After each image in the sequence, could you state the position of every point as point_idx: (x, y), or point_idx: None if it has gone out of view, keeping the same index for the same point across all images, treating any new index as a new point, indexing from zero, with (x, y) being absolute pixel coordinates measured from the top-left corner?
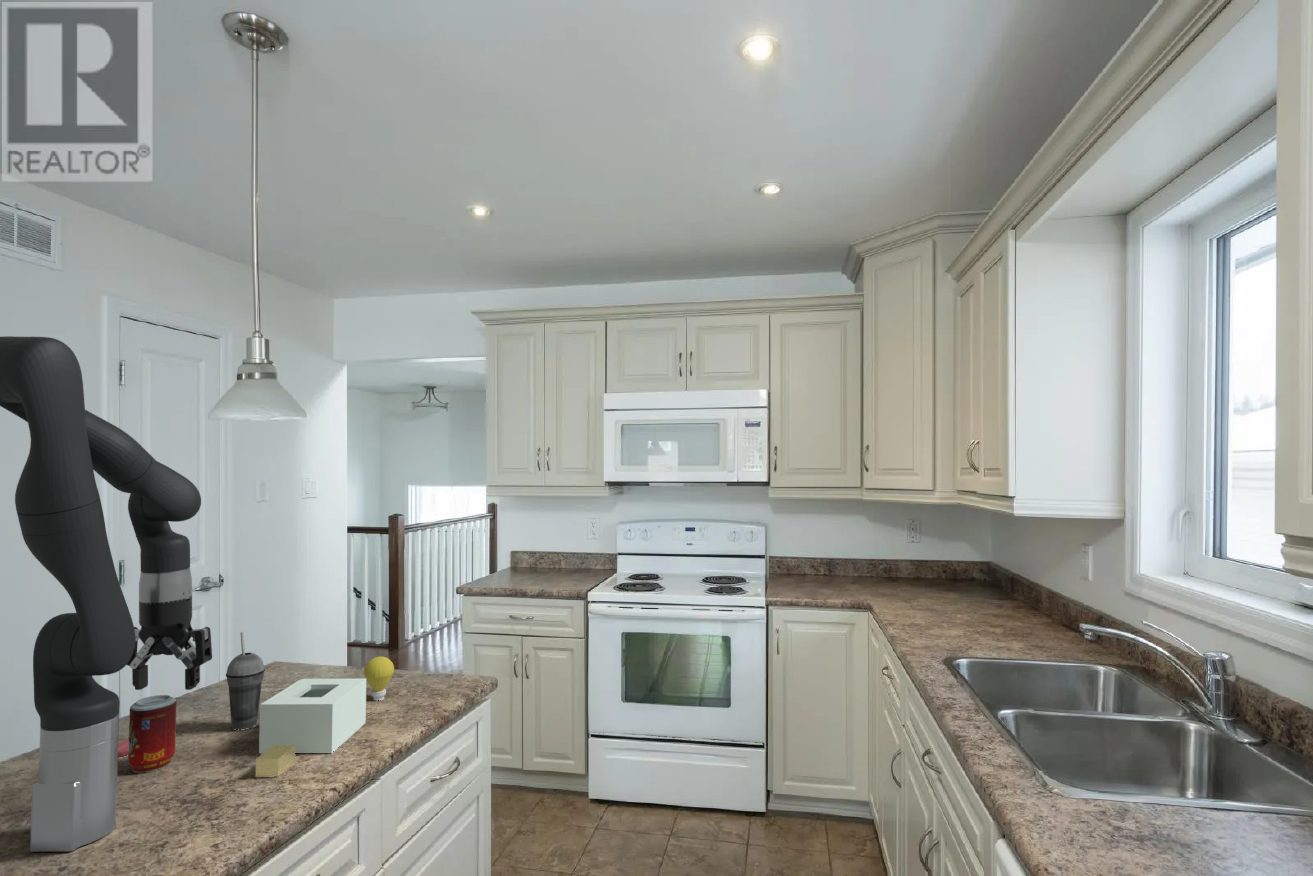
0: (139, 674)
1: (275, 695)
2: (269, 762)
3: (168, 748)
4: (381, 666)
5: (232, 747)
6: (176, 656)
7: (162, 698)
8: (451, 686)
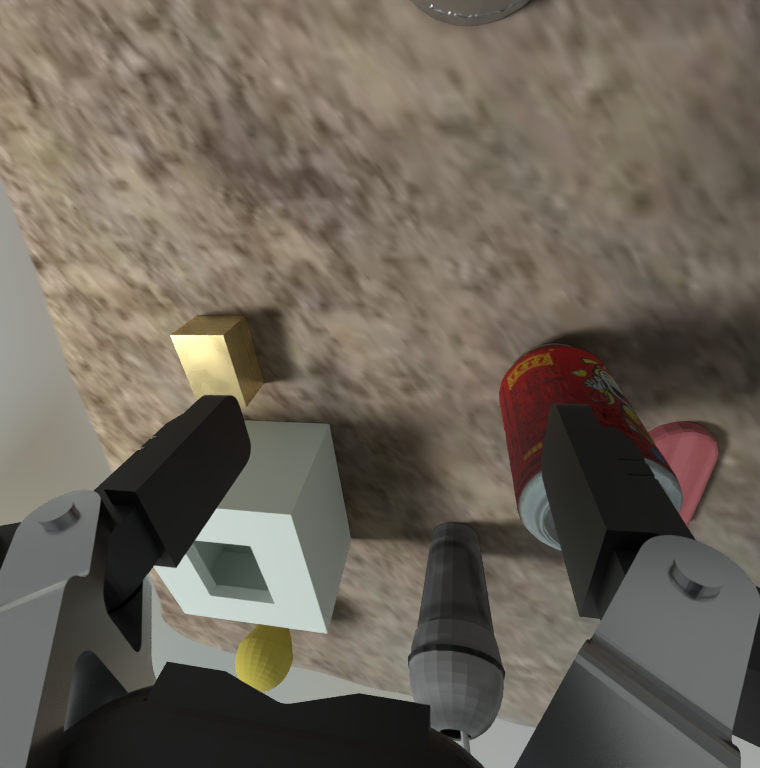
0: (586, 491)
1: (303, 561)
2: (195, 331)
3: (503, 397)
4: (241, 663)
5: (413, 457)
6: (42, 615)
7: None
8: (208, 621)
